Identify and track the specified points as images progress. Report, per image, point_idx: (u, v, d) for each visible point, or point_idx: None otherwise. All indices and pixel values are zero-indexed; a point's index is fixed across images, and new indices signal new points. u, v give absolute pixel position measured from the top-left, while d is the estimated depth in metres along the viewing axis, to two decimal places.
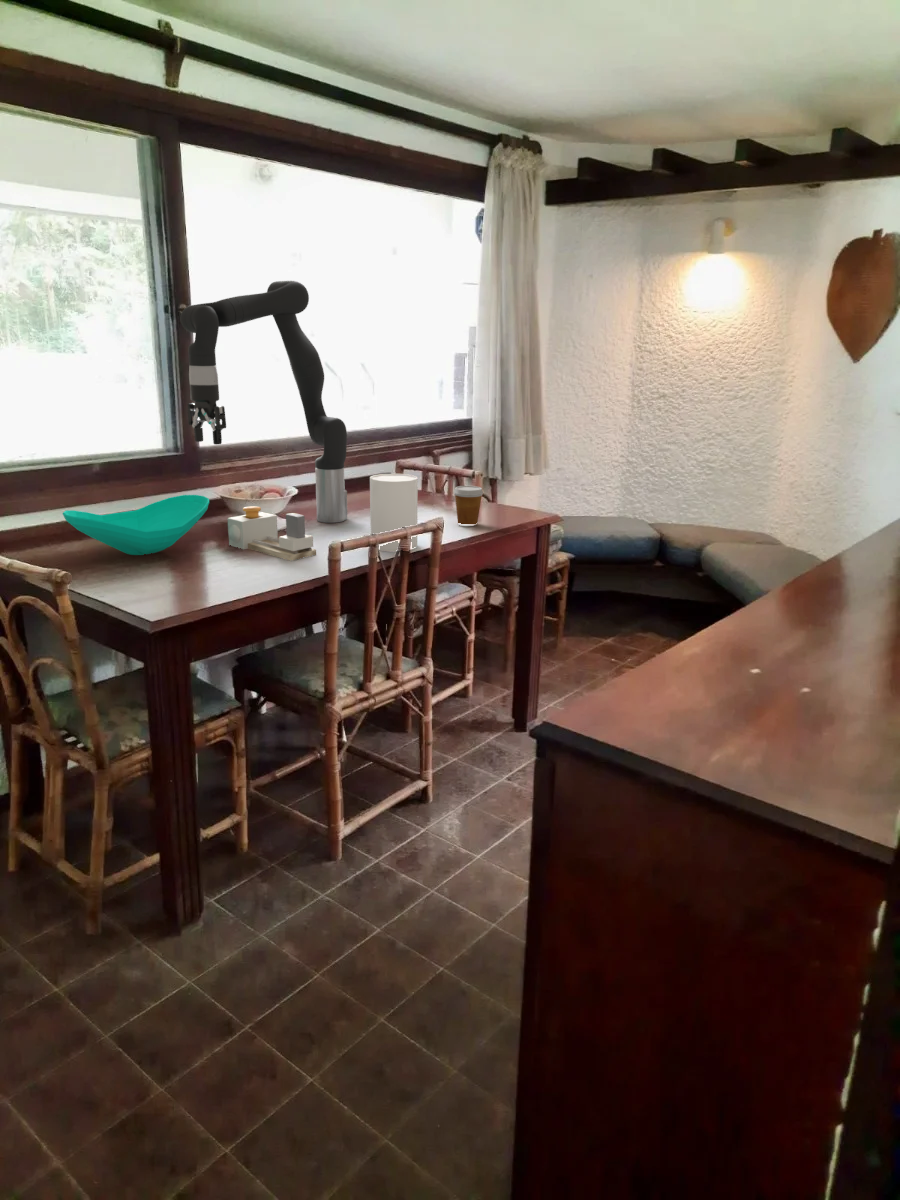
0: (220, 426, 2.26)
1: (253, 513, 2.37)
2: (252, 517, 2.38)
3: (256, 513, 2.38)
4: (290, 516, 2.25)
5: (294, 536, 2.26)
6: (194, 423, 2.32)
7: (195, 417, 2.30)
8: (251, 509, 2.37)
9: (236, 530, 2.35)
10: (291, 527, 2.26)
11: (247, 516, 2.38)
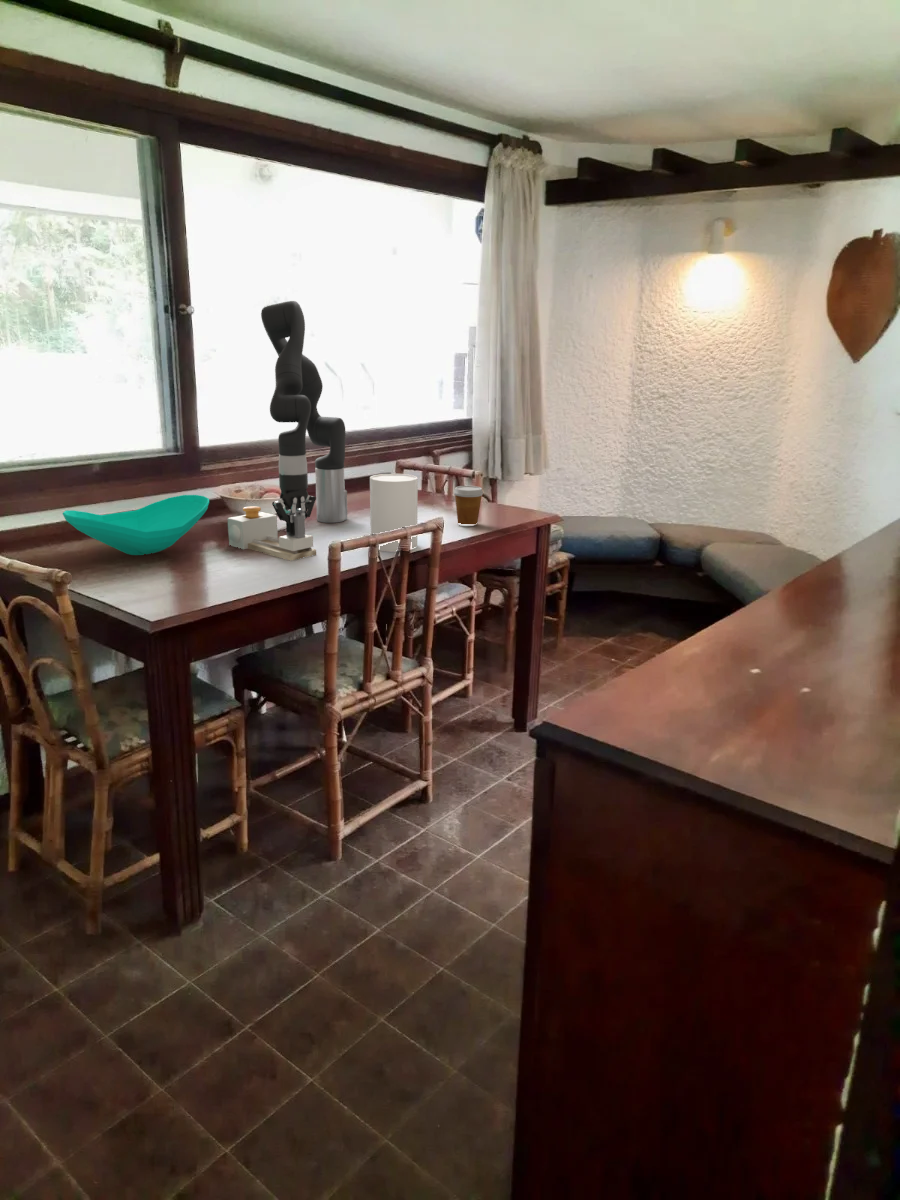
0: None
1: (253, 513, 2.37)
2: (252, 517, 2.38)
3: (256, 513, 2.38)
4: None
5: (294, 536, 2.26)
6: (292, 517, 2.24)
7: (294, 509, 2.23)
8: (251, 509, 2.37)
9: (236, 530, 2.35)
10: None
11: (247, 516, 2.38)
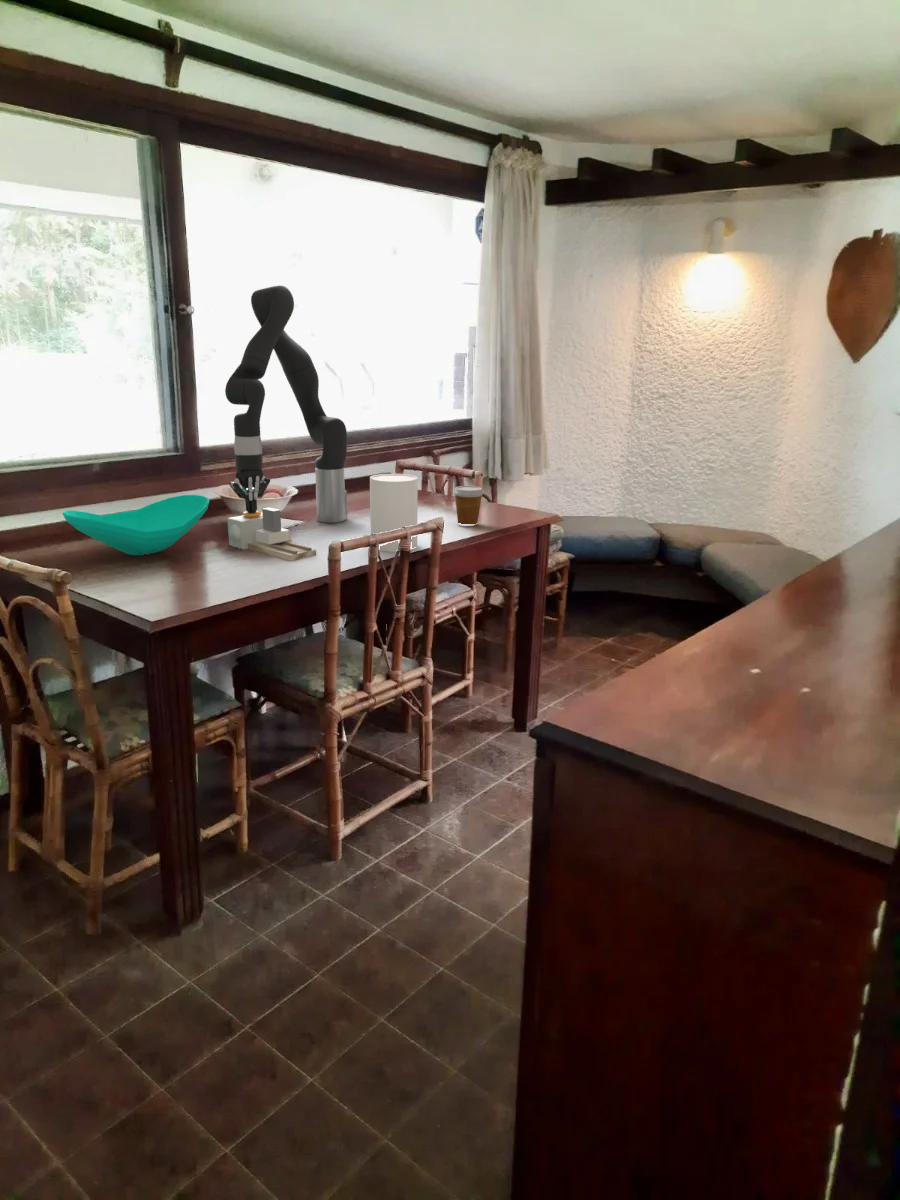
0: None
1: (253, 518, 2.38)
2: None
3: None
4: (267, 511, 2.32)
5: (270, 530, 2.33)
6: (250, 495, 2.36)
7: (251, 487, 2.35)
8: (251, 514, 2.37)
9: (236, 530, 2.35)
10: (267, 521, 2.33)
11: None
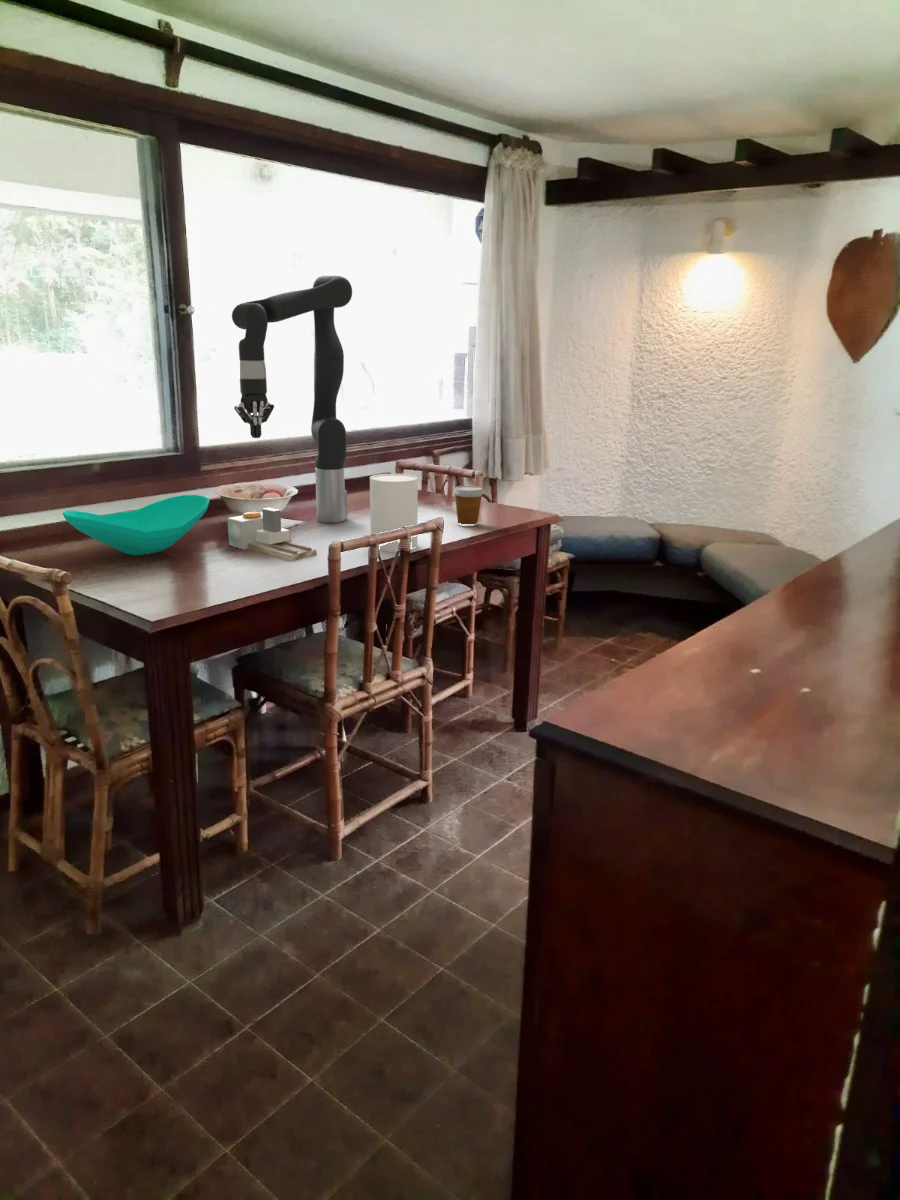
0: None
1: None
2: None
3: None
4: (267, 511, 2.32)
5: (270, 530, 2.33)
6: (255, 420, 2.42)
7: (255, 412, 2.41)
8: (251, 515, 2.37)
9: (236, 530, 2.35)
10: (267, 521, 2.33)
11: None
